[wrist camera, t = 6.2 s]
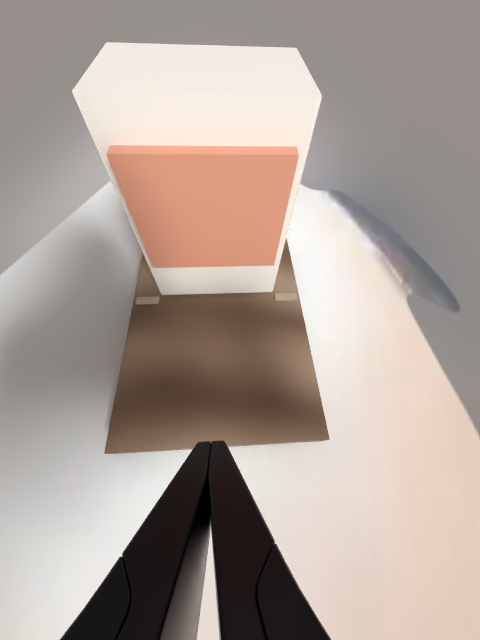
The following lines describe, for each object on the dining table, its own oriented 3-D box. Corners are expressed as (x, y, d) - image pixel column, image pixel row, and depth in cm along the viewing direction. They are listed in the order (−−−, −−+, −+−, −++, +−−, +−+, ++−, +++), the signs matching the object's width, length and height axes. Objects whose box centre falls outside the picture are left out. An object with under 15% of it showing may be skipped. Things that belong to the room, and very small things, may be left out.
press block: (273, 298, 17) (326, 103, 8) (160, 301, 17) (66, 99, 7) (265, 243, 20) (296, 47, 10) (167, 244, 20) (106, 42, 10)
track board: (320, 440, 14) (330, 439, 13) (116, 453, 14) (103, 453, 12) (282, 248, 22) (286, 234, 21) (151, 250, 22) (145, 236, 20)
